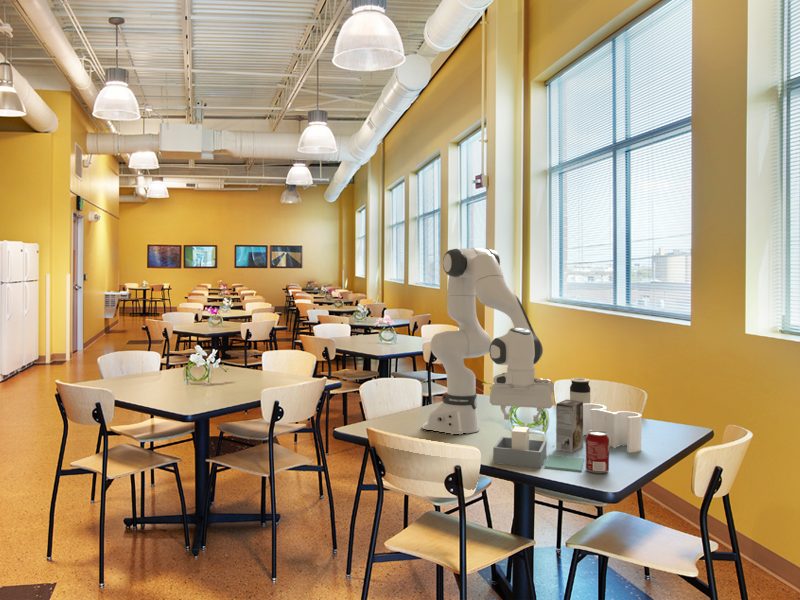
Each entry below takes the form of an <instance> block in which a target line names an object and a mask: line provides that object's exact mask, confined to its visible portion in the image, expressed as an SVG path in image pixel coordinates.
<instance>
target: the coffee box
mask: <svg viewBox="0 0 800 600" xmlns="http://www.w3.org/2000/svg"><path fill="white" fill-rule="evenodd" d="M555 410H556V413H555V414H556V417H555V418H556V420H555V422H556V423H555V424H556V425H555V427H556V428H555V430H556V431H555V435H556V436H555V445H556V446H555V449H556V450H559V451H564V452H569V453H574V452H575V451H578V450H579V449H582V448H583V447H584V436H583V402H580V401H575V400H570V399H565V400H562V401H560V402H557V403H556V409H555Z"/></svg>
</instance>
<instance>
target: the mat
mask: <svg viewBox="0 0 800 600" xmlns="http://www.w3.org/2000/svg"><path fill="white" fill-rule="evenodd" d="M584 460H585V458H584V457H578V456H576V457H575V456H568V455H558V454H549V455H548V457H547V459H546V461H545V464H544V469H548V470H549V469H550V470H560V471H566V472H567V471H569V472H570V471H571V472H579V473H582V470H583V466H584V462H585V461H584Z"/></svg>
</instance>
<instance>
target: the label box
mask: <svg viewBox="0 0 800 600" xmlns="http://www.w3.org/2000/svg"><path fill="white" fill-rule="evenodd" d="M511 438H512V449H520V450H529V439H530V427H529V426H517V425H515V426H514V428H513V429H512V430H511Z"/></svg>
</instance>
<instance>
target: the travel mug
mask: <svg viewBox="0 0 800 600" xmlns="http://www.w3.org/2000/svg"><path fill="white" fill-rule="evenodd" d="M590 380H591V379H589V378H585V377H573V378H571V379H570V381H571V384H570V386H569V400H575V401H580V402H583V404H586V403H589V404H591V386H590V385H589V383H590Z"/></svg>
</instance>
